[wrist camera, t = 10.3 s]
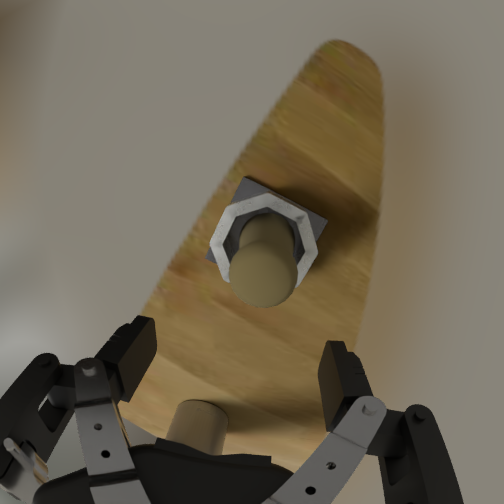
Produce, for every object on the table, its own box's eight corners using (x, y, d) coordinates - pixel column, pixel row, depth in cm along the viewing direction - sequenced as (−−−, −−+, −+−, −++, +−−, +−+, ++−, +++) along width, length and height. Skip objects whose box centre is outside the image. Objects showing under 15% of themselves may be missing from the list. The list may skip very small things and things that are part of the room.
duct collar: (283, 294, 32) (284, 309, 28) (206, 256, 31) (198, 267, 28) (327, 219, 29) (333, 227, 25) (244, 176, 28) (239, 178, 25)
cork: (235, 215, 29) (212, 246, 18) (292, 210, 28) (303, 237, 18) (243, 269, 31) (226, 322, 20) (297, 264, 30) (307, 317, 20)
